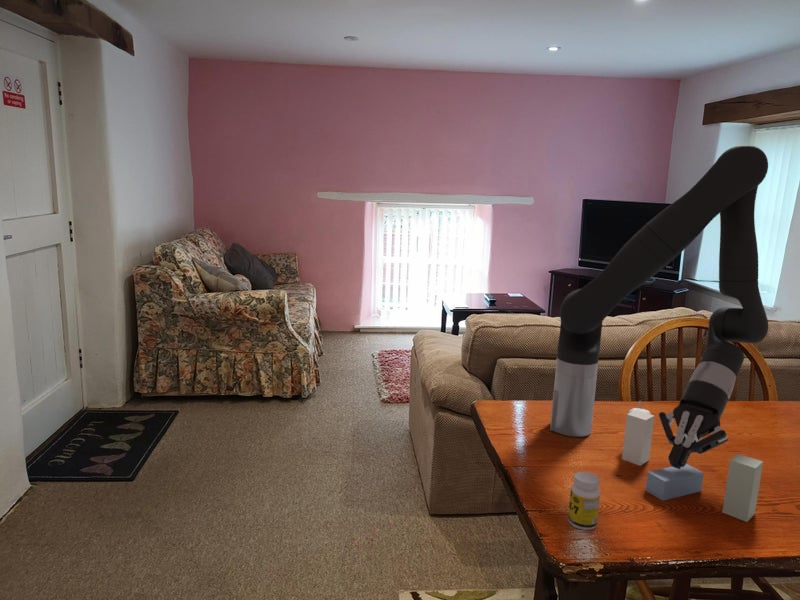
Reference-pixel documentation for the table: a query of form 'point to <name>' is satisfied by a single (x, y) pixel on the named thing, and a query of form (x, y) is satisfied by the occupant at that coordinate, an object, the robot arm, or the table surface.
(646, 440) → the cream block
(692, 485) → the slate blue block
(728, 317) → the robot arm
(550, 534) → the table surface
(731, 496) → the sage block
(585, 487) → the supplement bottle
